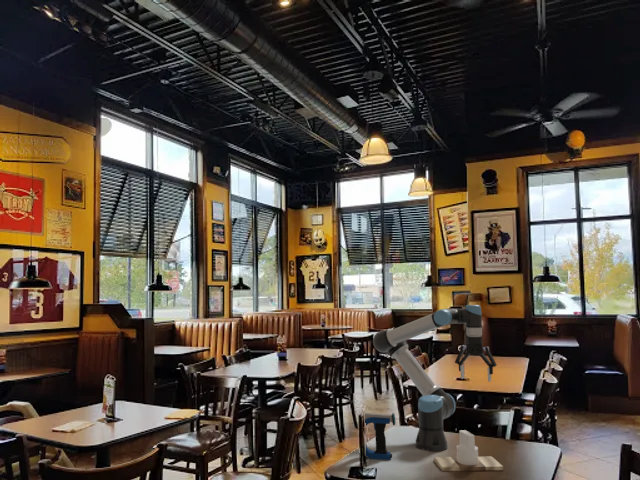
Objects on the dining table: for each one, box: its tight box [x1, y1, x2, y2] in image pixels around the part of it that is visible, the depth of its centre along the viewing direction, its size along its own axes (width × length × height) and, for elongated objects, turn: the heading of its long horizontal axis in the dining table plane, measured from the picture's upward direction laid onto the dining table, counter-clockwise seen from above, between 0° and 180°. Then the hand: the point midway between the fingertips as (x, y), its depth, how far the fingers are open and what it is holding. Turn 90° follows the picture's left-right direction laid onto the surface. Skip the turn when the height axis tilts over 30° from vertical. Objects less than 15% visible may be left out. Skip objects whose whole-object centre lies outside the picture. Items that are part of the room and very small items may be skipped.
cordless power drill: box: [364, 412, 397, 461], centre depth 226 cm, size 5×16×20 cm, turn 79°
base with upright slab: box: [456, 429, 479, 465], centre depth 216 cm, size 9×9×12 cm
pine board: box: [433, 455, 504, 472], centre depth 215 cm, size 26×13×2 cm, turn 92°
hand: (475, 379), depth 245 cm, fingers open, 13 cm apart
